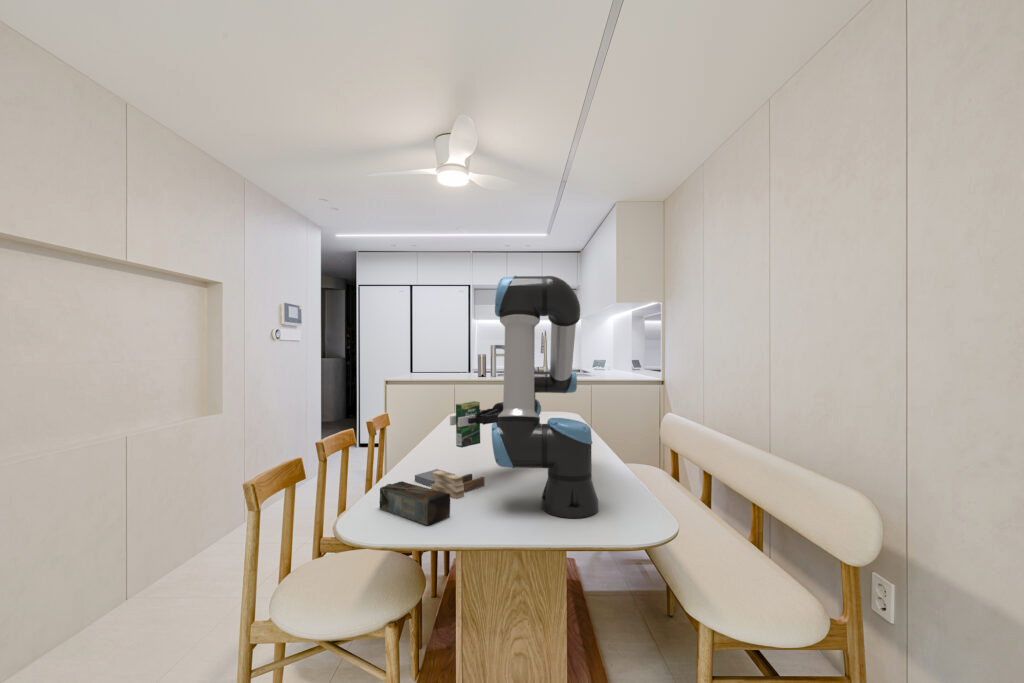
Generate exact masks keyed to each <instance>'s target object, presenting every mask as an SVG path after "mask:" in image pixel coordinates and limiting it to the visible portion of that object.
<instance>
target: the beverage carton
mask: <svg viewBox="0 0 1024 683" xmlns="http://www.w3.org/2000/svg"><path fill="white" fill-rule="evenodd" d="M379 510H381V511H384V512H387V513H389V514H393V515H395V516H398V517H402V518H403V519H408V520H411V521H414V522H417V523H420V524H422V525H426V526H430V525H433V524H436V523H438V522H440V520H441V521H442V520H446V519H447V517H448V518H450V516H451V497H450V494H449V493H445V492H441V491H437V490H433V489H431V488H428V487H424V486H421V485H417V484H412V483H408V482H405V481H403V480H402V481H398V482H395V483H387V484H386V485H385V486H384V485H383V486H381V487H380V488H379Z"/></svg>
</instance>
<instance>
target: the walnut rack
mask: <svg viewBox="0 0 1024 683" xmlns="http://www.w3.org/2000/svg"><path fill="white" fill-rule="evenodd" d="M460 477H463V484H464V493H467V491H468V492H469V491H473V490H476V489H478V487H479V488H482V487H484V486H485V477H483V476H480V477H477V478H473V473H469V474H465V475H460ZM481 486H482V487H481ZM475 488H476V489H475ZM472 489H473V490H472Z"/></svg>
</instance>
